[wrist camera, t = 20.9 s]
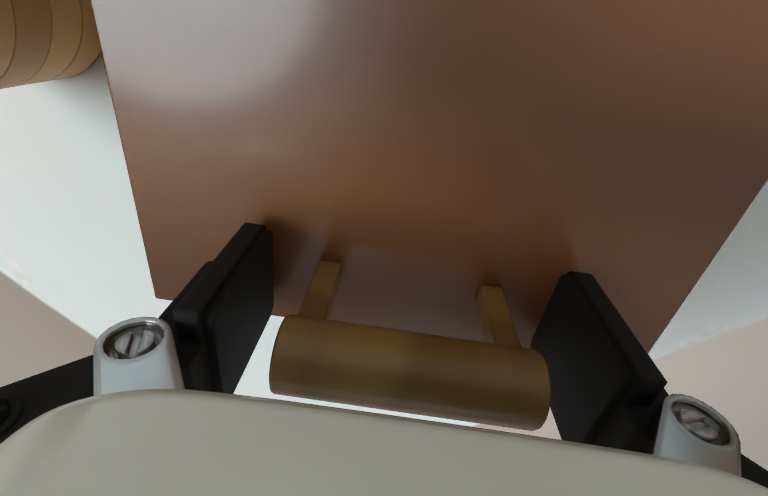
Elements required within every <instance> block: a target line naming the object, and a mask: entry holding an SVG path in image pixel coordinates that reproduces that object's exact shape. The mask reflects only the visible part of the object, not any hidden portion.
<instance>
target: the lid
mask: <svg viewBox="0 0 768 496" xmlns="http://www.w3.org/2000/svg"><path fill="white" fill-rule="evenodd" d="M90 2H91V6H92V11H93V15H94V20H95V25H96V29H97V34H98V38H99V43H100V47H101V52H102V56H103V61H104V65H105V70H106V74H107V79H108V83H109V88H110V92H111V97H112V101H113V106H114V110H115V115H116V120H117V124H118V129H119V133H120V138H121V142H122V147H123V151H124V156H125V160H126V165H127V169H128V174H129V178H130V183H131V187H132V192H133V196H134V201H135V206H136V210H137V215H138V219H139V224H140V228H141V233H142V237H143V242H144V246H145V251H146V255H147V260H148V264H149V269H150V273H151V278H152V282H153V287H154V291H155V296H156V298H159V299H166V300H174V299H175V298H176V297H177V296H178V294H179V293H180V292H181V291H182V290H183V289H184V287H185V286H186V285H187V284H188V283H189V281H190V280H191V279H192V278H193V277H194V276H195V274H196V273H197V272H198V271H199V270H200V268H201V267H202V266H203V265H204V264H205V263H206V262H208V261H213V260H214V259H215V258H216V257H217V255H218V254H219V253H220V252H221V251H222V249H223V248H224V247H225V246H226V244H227V243H228V242H229V241H230V240H231V238H232V237H233V236H234V235H235V234H236V232H237V231H238V230H239V229H240V228H241V226H242V225H243V224H244V223H245V222H248V223H255V224H261V225H265V226H266V228H267V230H269V231H272V234H273V279H274V306H273V310H272V313H271V315H275V316H282V317H285V318H284V320H283V322H282V323H281V326H280V328H279V330H278V333H277V336H276V340H275V343H274V347H273V352H272V357H271V363H270V371H269V385H270V390H271V392H272V393H274V394H279V395H285V396H292V397H299V398H306V399H313V400H320V401H327V402H334V403H341V404H348V405H355V406H362V407H369V408H376V409H383V410H390V411H397V412H404V413H411V414H418V415H425V416H432V417H439V418H446V419H453V420H460V421H467V422H474V423H481V424H488V425H495V426H502V427H509V428H516V429H523V430H530V431H534V430H537V429H539V428H541V427H542V426H543V424H544V422H545V420H546V418H547V415H548V412H549V407H550V401H551V380H550V373H549V369H548V366H547V363H546V361H545V359H544V357H543V355H542V354H541V353H540V352H538V351H536V350H534V349H530V344H531V340H532V337H533V335H534V333H535V331H536V328H537V326H538V324H539V322H540V320H541V317H542V315H543V313H544V311H545V309H546V306H547V304H548V302H549V300H550V298H551V295H552V293H553V291H554V289H555V287H556V284H557V282H558V280H559V278H560V276H561V275H563V274H564V275H566V274H567V273H568V272H569V271H577V272H584V273H590V274H592V275H593V276H594V278H595V279H596V281H597V282H598V284H599V285H600V286H601V288H602V289H603V291H604V292H605V294H606V295H607V296H608V298H609V299H610V301H611V302H612V304H613V305H614V306H615V308H616V309H617V311H618V312H619V314H620V315H621V316H622V318H623V319H624V321H625V322H626V324H627V325H628V327H629V328H630V329H631V331H632V332H633V334H634V335H635V337H636V338H637V339H638V341H639V342H640V344H641V345H642V347H643V348H644V349H645V351H646V352H647V354H648V353H649V351H650V350H651V348H652V347H653V345H654V344H655V342H656V341H657V339H658V338H659V337H660V335H661V334H662V332H663V331H664V329H665V328H666V326H667V325H668V323H669V322H670V321H671V319H672V318H673V316H674V315H675V313H676V312H677V310H678V309H679V307H680V306H681V305H682V303H683V302H684V300H685V299H686V297H687V296H688V294H689V293H690V291H691V290H692V289H693V287H694V286H695V284H696V283H697V281H698V280H699V278H700V277H701V275H702V274H703V273H704V271H705V270H706V268H707V267H708V265H709V264H710V262H711V261H712V259H713V258H714V257H715V255H716V254H717V252H718V251H719V249H720V248H721V246H722V245H723V243H724V242H725V241H726V239H727V238H728V236H729V235H730V233H731V232H732V230H733V229H734V228H735V226H736V225H737V223H738V222H739V220H740V219H741V217H742V216H743V214H744V213H745V212H746V210H747V209H748V207H749V206H750V204H751V203H752V201H753V200H754V198H755V197H756V196H757V194H758V193H759V191H760V190H761V188H762V187H763V185H764V184H765V182H766V181H767V180H768V0H90Z"/></svg>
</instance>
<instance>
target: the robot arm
mask: <svg viewBox="0 0 768 496" xmlns="http://www.w3.org/2000/svg"><path fill="white" fill-rule="evenodd" d="M273 306H274V279H273V234H272V231H269V230H267V228H266V226H265V225H261V224H255V223H248V222H245V223H244V224H243V225H242V226H241V228H240V229H239V230H238V231H237V232H236V234H235V235H234V236H233V237H232V238H231V240H230V241H229V242H228V243H227V244H226V246H225V247H224V248H223V249H222V251H221V252H220V253H219V254H218V255H217V257H216V258H215V259H214V260H213V261H208V262H206V263H205V264H204V265H203V266H202V267H201V268H200V270H199V271H198V272H197V273H196V274H195V276H194V277H193V278H192V279H191V280H190V281H189V283H188V284H187V285H186V286H185V287H184V289H183V290H182V291H181V292H180V293H179V294H178V296H177V297H176V298H175V299H174V300H173V301H172V303H171V304H170V305H169V306H168V307H167V309H166V310H165V311H164V312H163V313H162V314H161V316H160V317H159V318H155V317H138V318H132V319H128V320H125V321H122V322H120V323H118V324H116V325H114V326H112V327H110V328H108V329H107V330H106V331H105V332H103V333H102V334H101V335H100V336H99V338H98V339H97V340H96V342H95V346H94V349H93V353H94V354H93V355H91V356H88V357H86V358H83V359H80V360H77V361H74V362H71V363H68V364H66V365H63V366H60V367H57V368H54V369H51V370H49V371H46V372H43V373H40V374H37V375H34V376H31V377H29V378H26V379H23V380H20V381H17V382H14V383H12V384H9V385H6V386H3V387H0V496H768V471H767V470H765V469H764V468H762V467H761V466H759V465H758V464H756V463H755V462H753V461H751V460H750V459H748V458H747V457H745V456H744V455H742V454H741V450H740V440H739V436H738V434H737V432H736V431H735V429H734V427H733V426H732V425H731V424H730V423H729V422H728V421H727V420H726V418H725V417H724V416H723V415H721V414H720V413H719V412H718V411H716V410H715V409H714V408H712V407H710V406H709V405H707V404H706V403H704V402H702V401H700V400H698V399H696V398H693V397H691V396H687V395H683V394H671V395H668V393H667V392H666V390H665V389H664V386H665V385H666V384H667V381H666V380H665V378H664V377H663V375H662V374H661V372H660V371H659V370H658V368H657V367H656V366H655V364H654V362H653V361H652V359H651V358H650V357H649V355H648V354H647V352H646V351H645V349H644V348H643V347H642V345H641V344H640V342H639V341H638V339H637V338H636V337H635V335H634V334H633V332H632V331H631V329H630V328H629V327H628V325H627V324H626V322H625V321H624V319H623V318H622V316H621V315H620V314H619V312H618V311H617V309H616V308H615V306H614V305H613V304H612V302H611V301H610V299H609V298H608V296H607V295H606V294H605V292H604V291H603V289H602V288H601V286H600V285H599V284H598V282H597V281H596V279H595V278H594V276H593V275H592V274H590V273H584V272H577V271H569V272H568V273H567V274H566V275H564V274H563V275H561V276H560V278H559V280H558V282H557V284H556V287H555V289H554V291H553V293H552V295H551V298H550V300H549V302H548V304H547V306H546V309H545V311H544V313H543V315H542V317H541V320H540V322H539V324H538V326H537V328H536V331H535V333H534V335H533V337H532V340H531V344H530V349H534V350H536V351H538V352H540V353H541V354H542V355H543V357H544V359H545V361H546V363H547V366H548V369H549V373H550V380H551V401H550V408H551V410H552V413H553V416H554V419H555V422H556V425H557V427H558V430H559V433H560V436H561V438H562V440H557V439H550V438H544V437H537V436H530V435H524V434H517V433H510V432H503V431H496V430H489V429H483V428H476V427H469V426H462V425H455V424H448V423H441V422H435V421H427V420H420V419H413V418H406V417H399V416H392V415H385V414H378V413H371V412H364V411H357V410H349V409H342V408H335V407H328V406H320V405H313V404H306V403H298V402H291V401H284V400H276V399H268V398H260V397H252V396H244V395H236V394H233V393H234V391H235V389H236V387H237V385H238V382H239V380H240V378H241V376H242V374H243V372H244V370H245V368H246V366H247V364H248V362H249V360H250V357H251V355H252V353H253V351H254V349H255V347H256V345H257V343H258V341H259V339H260V337H261V335H262V332H263V330H264V328H265V326H266V324H267V322H268V320H269V318H270V316H271V313H272V310H273Z"/></svg>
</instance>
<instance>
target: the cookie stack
mask: <svg viewBox="0 0 768 496" xmlns="http://www.w3.org/2000/svg"><path fill="white" fill-rule="evenodd" d="M100 51H101V47H100V43H99V38H98V34H97V29H96V25H95V20H94V15H93V11H92V6H91V2H90V0H0V89H2V88H8V87H14V86H20V85H26V84H32V83H37V82H43V81H49V80H55V79H61V78H67V77H71V76H74V75H77V74H79V73H81V72H83V71H84V70H86V69H87V68H88V67H89V66H90V65H91V64H92V63H93V62H94V61H95V59H96V58H97V57H98V55H99V53H100Z"/></svg>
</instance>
